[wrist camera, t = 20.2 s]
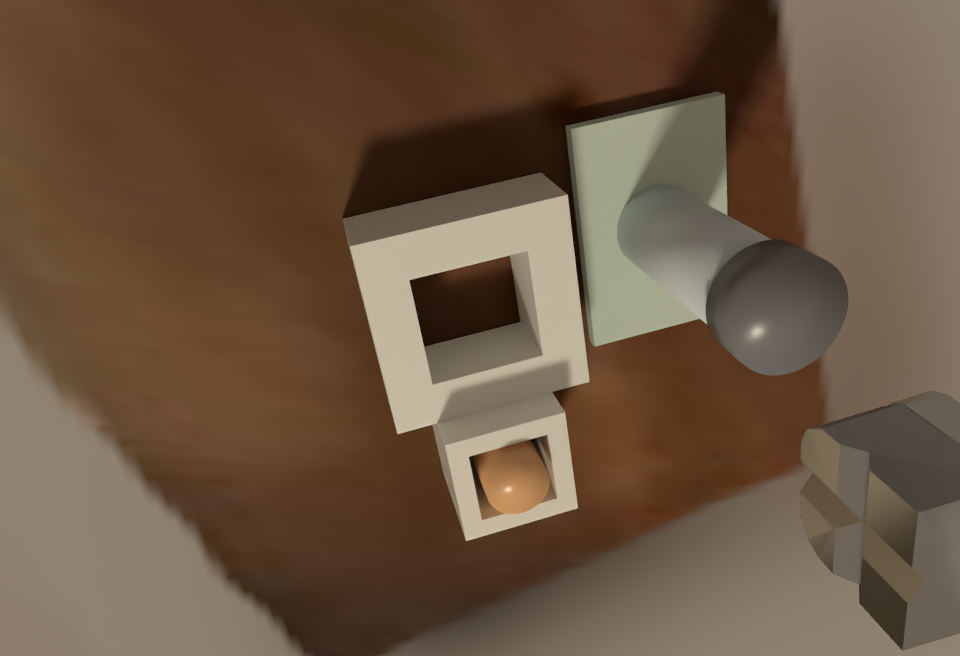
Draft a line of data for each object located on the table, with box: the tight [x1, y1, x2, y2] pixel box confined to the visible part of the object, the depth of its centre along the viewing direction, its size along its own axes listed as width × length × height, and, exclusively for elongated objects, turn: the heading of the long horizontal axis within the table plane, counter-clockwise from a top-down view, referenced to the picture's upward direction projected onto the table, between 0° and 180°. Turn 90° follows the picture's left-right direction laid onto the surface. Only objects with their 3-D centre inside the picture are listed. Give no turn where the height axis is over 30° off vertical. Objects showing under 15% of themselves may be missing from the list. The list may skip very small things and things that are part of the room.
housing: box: [342, 173, 589, 541], centre depth 40 cm, size 16×10×6 cm, turn 10°
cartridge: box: [617, 185, 848, 375], centre depth 36 cm, size 5×5×12 cm
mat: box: [565, 92, 727, 346], centre depth 42 cm, size 12×8×1 cm, turn 10°
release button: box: [471, 440, 550, 514], centre depth 41 cm, size 3×3×4 cm
